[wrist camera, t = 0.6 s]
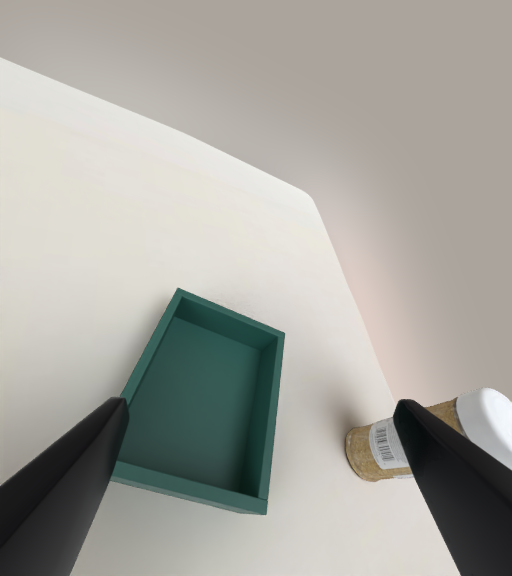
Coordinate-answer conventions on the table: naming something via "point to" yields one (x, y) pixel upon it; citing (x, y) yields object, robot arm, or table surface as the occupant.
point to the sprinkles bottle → (456, 413)
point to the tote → (204, 408)
